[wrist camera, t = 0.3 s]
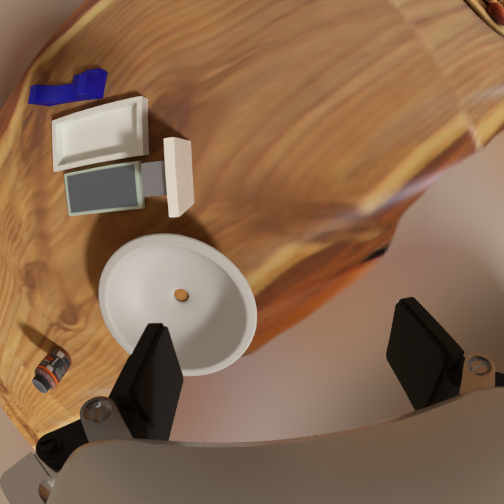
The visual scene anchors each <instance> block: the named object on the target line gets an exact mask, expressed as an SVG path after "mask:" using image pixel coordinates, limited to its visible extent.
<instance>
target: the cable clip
mask: <svg viewBox="0 0 504 504" xmlns="http://www.w3.org/2000/svg"><path fill="white" fill-rule="evenodd" d="M107 73H108V72H106V71H104V70H102V69H100V68H97V69H91V70H85V72H83V73H81V74H78V75H74V79H73V84H68V85H55V86H50V85H38V84H36V85H33V86H31V90H30V95H29V101H28V104H36V105H44V106H52V105H58V104H64V103H70V102H77V101H84V100H92V99H101V98H103V94H104V89H105V83H106V78H107Z"/></svg>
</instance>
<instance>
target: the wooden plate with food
mask: <svg viewBox="0 0 504 504" xmlns="http://www.w3.org/2000/svg"><path fill="white" fill-rule="evenodd" d="M465 1H466V2H467V3H468V4H469V5H470V7H471V8H472V9H473V10H474V11H475V12H476V13H477V14H478V15H479V16H480V17H481V18H482V19H483V20H484V21H485V22H486V23H487V24H488V25H489V26H490V27H491V28H492V29H493V30H495V31H496V32H497V33H498V34H500V35H501V36H503V37H504V0H465Z"/></svg>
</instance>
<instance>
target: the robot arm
mask: <svg viewBox="0 0 504 504" xmlns="http://www.w3.org/2000/svg"><path fill="white" fill-rule="evenodd" d="M463 354H464V351H463V350H462V348H461V347H460V346H459V345H458V344H457V343H456V342H455V340H454V339H453V338H452V337H451V336H450V335H449V334H448V333H447V332H446V331H445V330H444V328H443V327H442V326H441V325H440V324H439V323H438V322H437V321H436V320H435V319H434V318H433V317H432V316H431V315H430V314H429V313H428V311H427V310H426V309H425V308H423V306H422V305H421V304H420V303H419V302H418V301H417V300H416V299H415V298H414V297H409V298H403V299H400V301H399V303H397V304H396V306H395V312H394V318H393V323H392V328H391V334H390V339H389V344H388V348H387V352H386V357H387V360H388V362H389V364H390V366H391V368H392V369H393V371H394V373H395V375H396V376H397V378H398V380H399V382H400V383H401V385H402V387H403V389H404V391H405V392H406V394H407V396H408V398H409V400H410V402H411V404H412V405H413V407H414V409H415V411H414V412H411V413H408V414H405V415H401V416H398V417H395V418H392V419H388V420H384V421H381V422H377V423H373V424H369V425H365V426H361V427H356V428H352V429H347V430H342V431H337V432H332V433H326V434H320V435H314V436H307V437H300V438H291V439H282V440H272V441H258V442H234V443H233V442H232V443H208V442H207V443H206V442H179V441H169V437H170V432H171V428H172V424H173V420H174V416H175V412H176V408H177V404H178V400H179V396H180V392H181V388H182V384H183V374H182V371H181V368H180V365H179V362H178V358H177V355H176V352H175V349H174V346H173V342H172V339H171V336H170V332H169V329H168V327H167V326H164V325H163V323H148V325H147V326H146V328H145V330H144V332H143V334H142V335H141V337H140V339H139V341H138V343H137V345H136V347H135V349H134V350H133V352H132V354H131V355H130V356H129V358H128V360H127V362H126V364H125V365H124V367H123V369H122V371H121V373H120V375H119V377H118V379H117V381H116V383H115V385H114V387H113V389H112V391H111V393H110V395H109V397H104V396H99V397H94V398H92V399H90V400H88V401H87V402H86V403H84V404H83V406H82V408H81V410H80V418H81V419H79V420H77V421H75V422H73V423H71V424H68V425H66V426H64V427H62V428H59V429H57V430H55V431H52V432H50V433H48V434H46V435H44V436H42V437H41V438H40V439H39V441H38V443H37V445H36V453H35V454H33V453H32V452H30V453H29V454H28V455H26V456H25V457H24V458H22V459H21V460H20V461H19V462H17V463H16V464H15V465H13V466H12V467H11V468H9V469H8V470H7V471H5V472H4V473H3V475H2V476H1V479H0V485H1V488H2V490H3V492H4V494H5V496H6V497H7V499H8V501H9V503H10V504H504V374H502V373H498V372H495V365H494V363H493V361H492V360H491V359H490V358H489V357H487V356H485V355H483V354H477V353H476V354H471V355H469V356H468V357H466V358H465V357H464V356H463Z"/></svg>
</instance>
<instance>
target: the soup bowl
mask: <svg viewBox="0 0 504 504" xmlns="http://www.w3.org/2000/svg"><path fill="white" fill-rule="evenodd" d="M177 289H184V290H185V291H187V293H188V295H189V297H188V299H187V300H186V301H178V300H177V299H176V298H175V296H174V292H175V291H176V290H177ZM98 299H99V306H100V310H101V314H102V317H103V319H104V322H105V324H106V326H107V328H108V330H109V331H110V333H111V334H112V336H113V337H114V339H115V340H116V341H117V342H118V343H119V345H120V346H121V347H122V348H123V349H124V350H125V351H127V352H128V353H129V354H130V355H131V354H132V352H133V350H134V349H135V347H136V345H137V343H138V341H139V339H140V337H141V335H142V334H143V332H144V330H145V328H146V326H147V325H148V323H163V325H164V326H167V327H168V329H169V332H170V336H171V339H172V342H173V346H174V349H175V352H176V355H177V358H178V362H179V365H180V368H181V371H182V374H183V376H199V375H205V374H210V373H213V372H216V371H219V370H221V369H224V368H225V367H227V366H229V365H231V364H232V363H233V362H235V361H236V360H237V359H238V358H240V356H241V355H242V354H243V353H244V352H245V351H246V349H247V348H248V346H249V345H250V343H251V341H252V338H253V336H254V333H255V330H256V324H257V308H256V303H255V299H254V295H253V292H252V290H251V288H250V286H249V284H248V282H247V280H246V278H245V277H244V276H243V274H242V273H241V271H240V270H239V269H238V268H237V267H236V265H235V264H234V263H233V262H232V261H231V260H230V259H229V258H227V257H226V256H225V255H224V254H222V253H221V252H220V251H218V250H217V249H215V248H214V247H212V246H210V245H208V244H206V243H204V242H202V241H200V240H197V239H194V238H191V237H188V236H184V235H179V234H171V233H158V234H150V235H145V236H141V237H138V238H135V239H133V240H131V241H129V242H127V243H126V244H124V245H123V246H121V247H120V248H119V249H118V250H116V251H115V253H114V254H113V255H112V256H111V257H110V258H109V260H108V261H107V263H106V265H105V266H104V269H103V271H102V274H101V277H100V281H99V288H98Z"/></svg>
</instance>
